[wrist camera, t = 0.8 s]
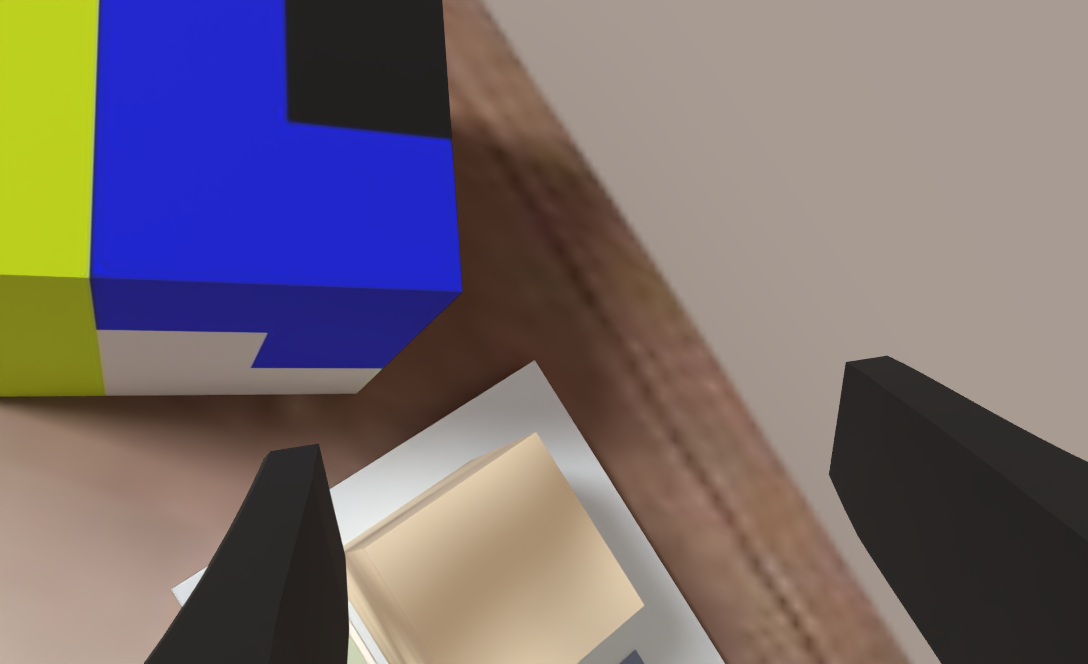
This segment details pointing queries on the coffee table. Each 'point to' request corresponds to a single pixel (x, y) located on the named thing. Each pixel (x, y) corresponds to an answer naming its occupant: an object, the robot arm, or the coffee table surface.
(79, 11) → the puzzle toy
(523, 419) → the board
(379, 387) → the coffee table surface
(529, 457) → the maple block
